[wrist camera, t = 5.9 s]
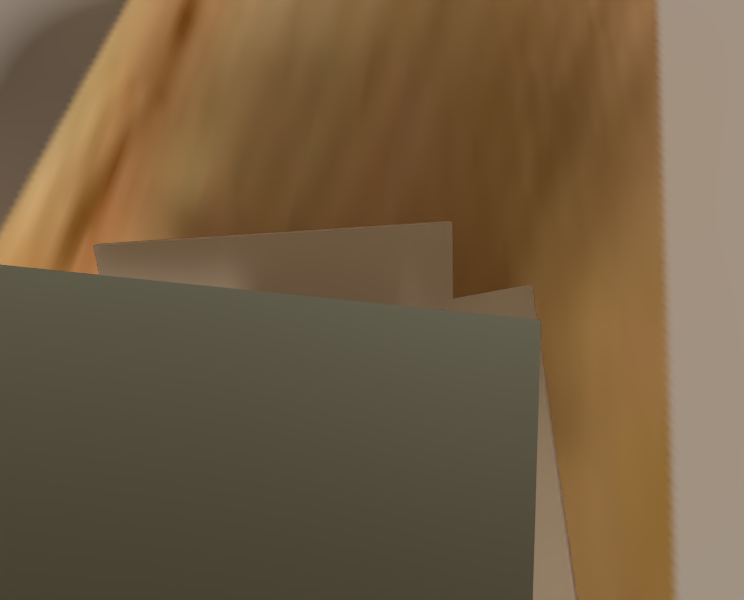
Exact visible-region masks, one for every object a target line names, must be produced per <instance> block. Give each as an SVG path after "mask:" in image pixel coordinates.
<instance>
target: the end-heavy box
mask: <svg viewBox="0 0 744 600" xmlns="http://www.w3.org/2000/svg"><path fill="white" fill-rule="evenodd" d="M540 341H541V320H537V319H527V318H518V317H508V316H498V315H488V314H478V313H469V312H459V311H449V310H439V309H429V308H419V307H410V306H400V305H390V304H380V303H370V302H361V301H351V300H341V299H331V298H321V297H312V296H302V295H292V294H282V293H272V292H262V291H253V290H243V289H233V288H223V287H213V286H204V285H194V284H184V283H174V282H164V281H155V280H145V279H135V278H125V277H115V276H105V275H96V274H86V273H76V272H66V271H56V270H47V269H37V268H27V267H17V266H7V265H0V600H533V577H534V543H535V509H536V476H537V442H538V408H539V375H540Z"/></svg>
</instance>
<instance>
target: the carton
mask: <svg viewBox="0 0 744 600" xmlns="http://www.w3.org/2000/svg"><path fill="white" fill-rule="evenodd" d="M93 247H94V252H95V256H96V261H97V266H98V271H99V275H105V276H115V277H125V278H135V279H145V280H155V281H164V282H174V283H184V284H194V285H204V286H213V287H223V288H233V289H243V290H253V291H262V292H272V293H282V294H292V295H302V296H312V297H321V298H331V299H341V300H351V301H361V302H370V303H380V304H390V305H400V306H410V307H419V308H429V309H439V310H449V311H459V312H469V313H478V314H488V315H498V316H508V317H518V318H527V319H537V315H536V308H535V301H534V294H533V287H532V286H531V285H530V284H529V285H524V286H518V287H513V288H507V289H502V290H496V291H491V292H485V293H480V294H475V295H469V296H464V297H458V298H453V229H452V222H451V221H441V222H426V223H410V224H395V225H379V226H364V227H349V228H333V229H318V230H302V231H287V232H271V233H256V234H241V235H225V236H210V237H194V238H179V239H163V240H148V241H132V242H117V243H102V244H96V245H94V246H93ZM533 600H578V598H577V591H576V584H575V577H574V571H573V564H572V557H571V550H570V543H569V536H568V529H567V522H566V515H565V508H564V501H563V495H562V488H561V481H560V474H559V467H558V460H557V453H556V446H555V439H554V432H553V426H552V419H551V412H550V405H549V398H548V391H547V384H546V377H545V370H544V363H543V356H542V350H541V343H540V375H539V408H538V442H537V476H536V509H535V543H534V577H533Z"/></svg>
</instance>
